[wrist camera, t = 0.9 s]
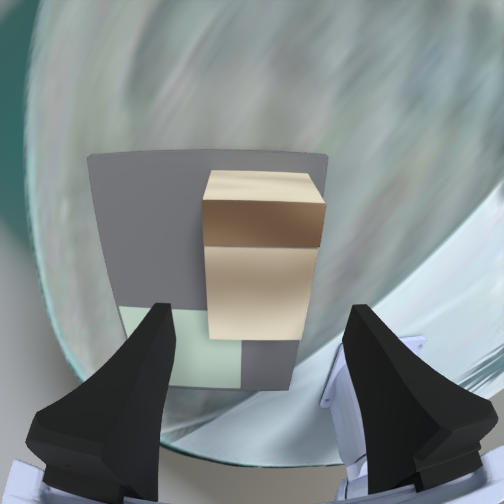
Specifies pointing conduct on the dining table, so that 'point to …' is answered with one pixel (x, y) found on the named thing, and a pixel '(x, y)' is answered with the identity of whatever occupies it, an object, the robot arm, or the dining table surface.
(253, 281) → the block
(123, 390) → the robot arm
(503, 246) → the dining table surface
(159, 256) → the mat
